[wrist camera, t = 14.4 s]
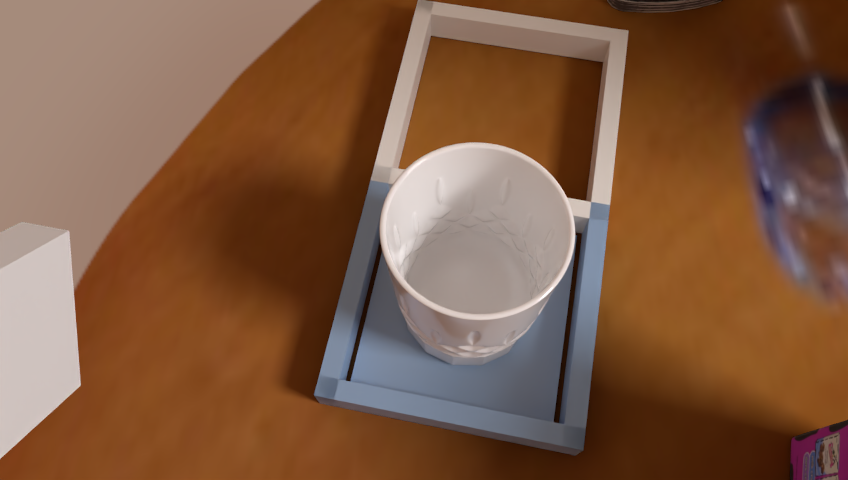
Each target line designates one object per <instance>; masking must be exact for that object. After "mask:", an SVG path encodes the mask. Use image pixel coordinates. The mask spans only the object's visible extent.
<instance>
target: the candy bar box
mask: <svg viewBox="0 0 848 480" xmlns="http://www.w3.org/2000/svg"><path fill="white" fill-rule="evenodd" d="M790 480H848V420H846V421H843V422H840V423H836V424H833V425H830V426H826V427H824V428H821V429H817V430H814V431H810V432H807V433H804V434H801V435H798V436H795V437H793V438H792V440H791V462H790Z"/></svg>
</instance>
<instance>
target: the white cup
mask: <svg viewBox="0 0 848 480" xmlns="http://www.w3.org/2000/svg"><path fill="white" fill-rule="evenodd" d="M379 231H380V242H381V247H382V251H383V255H384V258H385V261H386V265H387V268H388V272H389V275H390V279H391V282H392V286H393V290H394V293H395V296H396V299H397V301H398V304H399V307H400V310H401V312H402V314H403V316H404V318H405V320H406V323H407V327H408V330H409V331H410V333H411V334H412V335H413V336H414V338H415V339H416V340H417V342H418V343H419V344H420V345H421V347H422V348H423V349H424V350H425V352H427V353H429V354H431V355H433V356H435V357H437V358H439V359H441V360H443V361H445V362H447V363H449V364H451V365H480V366H481V365H484V364H486V363H488V362H491V361H493V360H495V359H497V358H499V357H501V356H503V355H506V354H508V353H509V352H510V350H511V349H512V348H513V347H514V345H515V344H516V343H517V342H518V340H519V339H520V338H521V337H522V336H523V335H524V334H525V333H526V332H527V331H528V330H529V328H530V327H531V325H532V324H533V323H534V321H535V320H536V318H537V317H538V315H539V314H540V313H541V311H542V310H543V308H544V307H545V305H546V303H547V302H548V300H549V298H550V297H551V295H552V293H553V292H554V290H555V288H556V287H557V285H558V283H559V282H560V280H561V279H562V277H563V276H564V274H565V272H566V270H567V268H568V266H569V263H570V261H571V258H572V254H573V250H574V244H575V223H574V217H573V213H572V209H571V206H570V203H569V201H568V199H567V197H566V195H565V193H564V191H563V189H562V188H561V186H560V185H559V183H558V182H557V181H556V180H555V178H554V177H553V176H552V175H551V174H550V173H549V172H548V171H547V170H546V169H545V168H544V167H543V166H541V165H540V164H539V163H537V162H536V161H535V160H533V159H531V158H530V157H528V156H526V155H524V154H523V153H520V152H518V151H516V150H513V149H511V148H508V147H504V146H501V145H496V144H490V143H479V142H471V143H460V144H454V145H449V146H446V147H442V148H440V149H437V150H434V151H432V152H430V153H428V154H426V155H424V156H422V157H421V158H419V159H418V160H416V161H415V162H414V163H412V164H411V165H410V166H409V167H407V168H406V169H405V170H404V171H403V172H402V173H401V175H400V176H399V177H398V178H397V179H396V181H395V182H394V184H393V185H392V187H391V188H390V190H389V192H388V194H387V196H386V199H385V201H384V204H383V207H382V211H381V216H380V227H379Z"/></svg>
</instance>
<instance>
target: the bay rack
mask: <svg viewBox="0 0 848 480" xmlns="http://www.w3.org/2000/svg"><path fill="white" fill-rule="evenodd" d="M628 32H629V31H628V30H621V29H614V28H608V27H601V26H594V25H587V24H581V23H574V22H567V21H561V20H554V19H547V18H541V17H534V16H527V15H520V14H514V13H507V12H500V11H494V10H487V9H480V8H473V7H467V6H460V5H453V4H447V3H440V2H433V1H426V0H418V2H417V6H416V9H415V13H414V17H413V21H412V25H411V28H410V32H409V36H408V40H407V44H406V47H405V51H404V55H403V59H402V63H401V66H400V70H399V74H398V78H397V82H396V85H395V89H394V93H393V97H392V101H391V104H390V108H389V112H388V116H387V120H386V123H385V127H384V131H383V135H382V139H381V142H380V146H379V150H378V154H377V158H376V161H375V165H374V169H373V173H372V177H371V180H370V184H369V188H368V192H367V196H366V199H365V203H364V207H363V211H362V215H361V218H360V222H359V226H358V230H357V233H356V237H355V241H354V245H353V249H352V252H351V256H350V260H349V264H348V268H347V271H346V275H345V279H344V283H343V287H342V290H341V294H340V298H339V302H338V306H337V309H336V313H335V317H334V321H333V325H332V328H331V332H330V336H329V340H328V344H327V347H326V351H325V355H324V359H323V363H322V366H321V370H320V374H319V378H318V382H317V385H316V389H315V393H314V396H315V398H316V399H317V400H318V401H319V403H321V404H326V405H331V406H336V407H341V408H345V409H350V410H355V411H360V412H365V413H370V414H375V415H380V416H385V417H389V418H394V419H399V420H404V421H409V422H414V423H419V424H424V425H429V426H433V427H438V428H443V429H448V430H453V431H458V432H463V433H468V434H473V435H477V436H482V437H487V438H492V439H497V440H502V441H507V442H512V443H517V444H522V445H526V446H531V447H536V448H541V449H546V450H551V451H556V452H561V453H566V454H570V455H575V456H576V455H577V454H579V453H580V452H582V451H583V450H584V440H585V431H586V422H587V413H588V403H589V394H590V385H591V375H592V366H593V357H594V348H595V338H596V329H597V320H598V310H599V301H600V292H601V283H602V273H603V264H604V255H605V246H606V236H607V227H608V218H609V208H610V199H611V190H612V181H613V171H614V162H615V153H616V144H617V134H618V125H619V116H620V106H621V97H622V88H623V79H624V69H625V60H626V51H627V42H628ZM431 36H436V37H442V38H449V39H455V40H462V41H468V42H475V43H481V44H488V45H494V46H501V47H507V48H514V49H520V50H527V51H533V52H540V53H546V54H553V55H559V56H566V57H572V58H579V59H585V60H592V61H598V62H603V68H602V76H601V84H600V92H599V100H598V108H597V116H596V124H595V133H594V141H593V149H592V157H591V165H590V173H589V181H588V189H587V197H586V201H584V200H578V199H572V198H567V199H568V201H569V203H570V206H571V209H572V213H573V217H574V223H575V232H576V233H581V234H582V238H581V246H580V254H579V262H578V271H577V279H576V287H575V295H574V303H573V311H572V319H571V327H570V335H569V344H568V352H567V360H566V368H565V376H564V384H563V392H562V400H561V409H560V417H559V423H555V422H554V414H555V406H556V399H557V391H558V383H559V375H560V367H561V359H562V351H563V343H564V335H565V327H566V319H567V311H568V303H569V295H570V288H571V280H572V272H573V264H574V256H575V248H576V240H577V235H575V244H574V250H573V254H572V258H571V261H570V263H569V266H568V268H567V270H566V272H565V274H564V276H563V277H562V279H561V280H560V282H559V283H558V285H557V287H556V288H555V290H554V292H553V293H552V295H551V297H550V298H549V300H548V302H547V303H546V305H545V307H544V308H543V310H542V311H541V313H540V314H539V315H538V317H537V318H536V320H535V321H534V323H533V324H532V325H531V327H530V328H529V330H528V331H527V332H526V333H525V334H524V335H523V336H522V337H521V338H520V339H519V340H518V342H517V343H516V344H515V345H514V347H513V348H512V349H511V350H510V352H509V353H508V354H506V355H503V356H501V357H499V358H497V359H495V360H493V361H491V362H488V363H486V364H484V365H481V366H480V365H451V364H449V363H447V362H445V361H443V360H441V359H439V358H437V357H435V356H433V355H431V354H429V353H427V352H425V350H424V349H423V348H422V347H421V345H420V344H419V343H418V342H417V340H416V339H415V338H414V336H413V335H412V334H411V333H410V331H409V330H408V327H407V323H406V320H405V318H404V316H403V314H402V312H401V310H400V307H399V304H398V301H397V299H396V296H395V293H394V290H393V286H392V282H391V279H390V275H389V272H388V268H387V265H386V261H385V258H384V255H383V251H382V254H381V258H380V262H379V267H378V271H377V275H376V279H375V283H374V287H373V291H372V295H371V299H370V303H369V307H368V311H367V316H366V320H365V324H364V328H363V332H362V336H361V340H360V344H359V348H358V352H357V356H356V361H355V365H354V369H353V373H352V377H351V381H346V377H347V373H348V369H349V365H350V361H351V357H352V353H353V349H354V345H355V341H356V337H357V332H358V328H359V324H360V320H361V316H362V312H363V308H364V304H365V300H366V296H367V292H368V288H369V284H370V280H371V276H372V272H373V268H374V264H375V260H376V256H377V252H378V248H379V244H380V231H379V227H380V216H381V211H382V207H383V204H384V201H385V199H386V196H387V194H388V192H389V190H390V188H391V187H392V185H393V184H394V182H395V181H396V179H397V178H398V177H399V176H400V175H401V173H402V172H403V171H404V170H403V169H398V167H399V163H400V159H401V155H402V151H403V147H404V143H405V139H406V134H407V130H408V126H409V122H410V118H411V114H412V110H413V106H414V102H415V98H416V94H417V90H418V86H419V82H420V78H421V74H422V70H423V66H424V62H425V58H426V54H427V50H428V46H429V42H430V38H431Z"/></svg>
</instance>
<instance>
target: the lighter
mask: <svg viewBox="0 0 848 480" xmlns="http://www.w3.org/2000/svg"><path fill="white" fill-rule="evenodd" d="M607 1H608V3H609V4H610V5H611V6H612V7H614V8H615V9H617V10H620V11H628V12H645V13H653V12H675V11H681V10H688V9H695V8H699V7H703V6H707V5H711V4H715V3H718V2H720V1H722V0H607Z"/></svg>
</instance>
